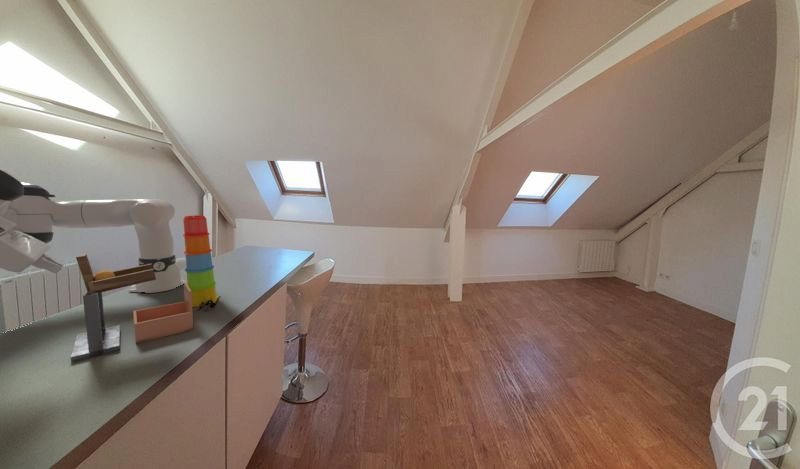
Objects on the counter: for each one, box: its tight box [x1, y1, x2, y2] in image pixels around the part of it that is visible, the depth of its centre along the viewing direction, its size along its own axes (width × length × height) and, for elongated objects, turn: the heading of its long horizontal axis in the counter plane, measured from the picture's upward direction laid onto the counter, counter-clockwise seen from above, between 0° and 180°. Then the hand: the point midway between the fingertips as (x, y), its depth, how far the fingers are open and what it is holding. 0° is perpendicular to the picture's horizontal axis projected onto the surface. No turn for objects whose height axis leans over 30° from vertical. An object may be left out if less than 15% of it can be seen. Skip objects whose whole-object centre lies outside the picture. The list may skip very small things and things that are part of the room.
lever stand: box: [70, 292, 121, 364], centre depth 74 cm, size 15×8×17 cm, turn 46°
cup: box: [132, 281, 194, 344], centre depth 84 cm, size 11×13×13 cm
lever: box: [75, 253, 156, 293], centre depth 76 cm, size 10×14×11 cm
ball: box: [94, 270, 115, 281], centre depth 74 cm, size 4×4×4 cm
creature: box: [194, 296, 222, 313], centre depth 100 cm, size 8×5×8 cm
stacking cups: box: [183, 214, 219, 308], centre depth 104 cm, size 10×10×35 cm
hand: (60, 269), depth 68 cm, fingers closed
